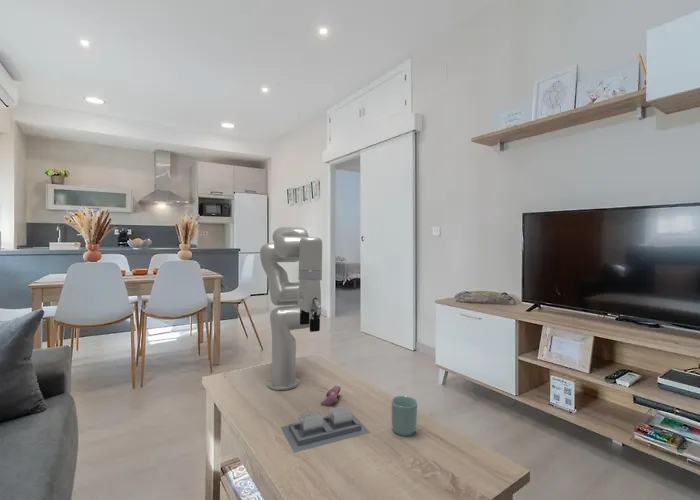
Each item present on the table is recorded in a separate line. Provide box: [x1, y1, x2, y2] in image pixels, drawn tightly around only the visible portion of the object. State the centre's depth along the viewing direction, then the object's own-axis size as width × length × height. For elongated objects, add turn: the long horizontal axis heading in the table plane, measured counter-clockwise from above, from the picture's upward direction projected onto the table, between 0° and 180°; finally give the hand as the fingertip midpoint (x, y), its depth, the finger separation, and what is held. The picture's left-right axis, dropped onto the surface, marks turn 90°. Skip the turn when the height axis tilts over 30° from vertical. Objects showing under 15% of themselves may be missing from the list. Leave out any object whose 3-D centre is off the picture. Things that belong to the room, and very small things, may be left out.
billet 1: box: [298, 410, 324, 438], centre depth 105 cm, size 4×6×5 cm
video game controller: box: [320, 385, 342, 407], centre depth 127 cm, size 10×5×7 cm, turn 170°
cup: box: [390, 395, 418, 437], centre depth 108 cm, size 8×8×10 cm
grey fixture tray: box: [280, 413, 371, 453], centre depth 107 cm, size 14×24×2 cm, turn 116°
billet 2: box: [328, 405, 353, 430], centre depth 109 cm, size 4×6×5 cm
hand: (309, 327), depth 114 cm, fingers open, 9 cm apart
